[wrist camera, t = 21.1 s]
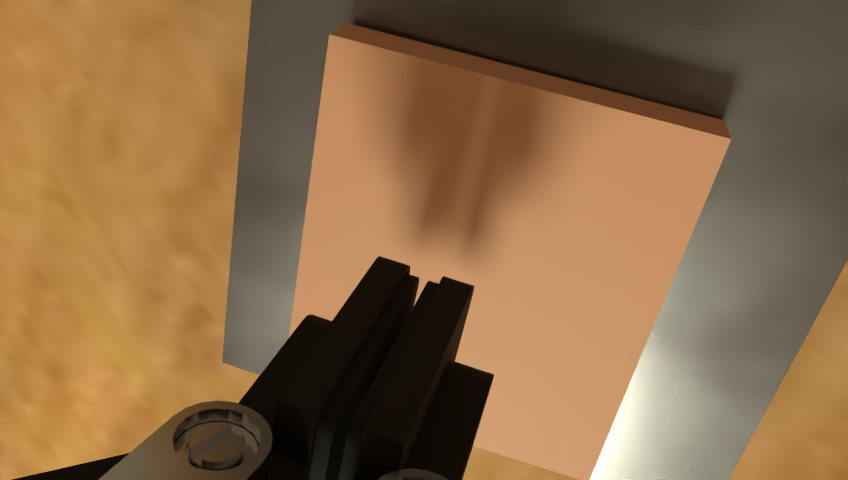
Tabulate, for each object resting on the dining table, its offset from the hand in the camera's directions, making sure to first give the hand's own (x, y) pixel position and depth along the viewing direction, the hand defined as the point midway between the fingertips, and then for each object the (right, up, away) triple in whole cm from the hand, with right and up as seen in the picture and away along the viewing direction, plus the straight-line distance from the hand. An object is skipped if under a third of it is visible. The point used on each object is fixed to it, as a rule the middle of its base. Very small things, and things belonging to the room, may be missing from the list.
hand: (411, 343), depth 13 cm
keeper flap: (+1, +1, +3) cm, 4 cm away
